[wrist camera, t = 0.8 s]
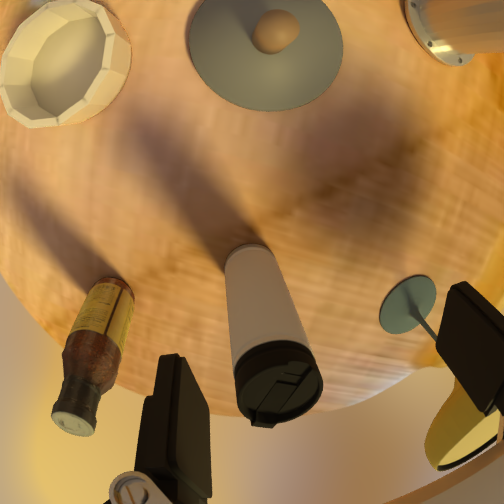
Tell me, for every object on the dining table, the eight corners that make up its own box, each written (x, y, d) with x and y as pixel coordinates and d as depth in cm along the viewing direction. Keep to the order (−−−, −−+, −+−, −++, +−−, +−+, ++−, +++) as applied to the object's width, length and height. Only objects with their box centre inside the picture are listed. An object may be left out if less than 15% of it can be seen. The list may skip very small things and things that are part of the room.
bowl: (71, 1, 20) (47, -16, 15) (156, 41, 25) (142, 24, 19) (14, 96, 24) (-18, 98, 18) (89, 143, 28) (63, 151, 23)
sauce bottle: (85, 296, 36) (26, 414, 18) (107, 265, 35) (42, 388, 17) (123, 324, 39) (87, 449, 21) (148, 296, 37) (114, 430, 19)
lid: (251, -41, 22) (259, -66, 16) (363, 40, 27) (391, 30, 21) (159, 59, 26) (147, 47, 20) (282, 141, 31) (297, 146, 26)
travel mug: (215, 282, 37) (221, 423, 19) (236, 235, 35) (261, 365, 17) (261, 297, 39) (296, 432, 21) (285, 253, 37) (344, 380, 19)
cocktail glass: (457, 308, 46) (538, 402, 23) (376, 365, 48) (437, 481, 26) (440, 230, 38) (567, 331, 16) (340, 300, 41) (427, 455, 18)
